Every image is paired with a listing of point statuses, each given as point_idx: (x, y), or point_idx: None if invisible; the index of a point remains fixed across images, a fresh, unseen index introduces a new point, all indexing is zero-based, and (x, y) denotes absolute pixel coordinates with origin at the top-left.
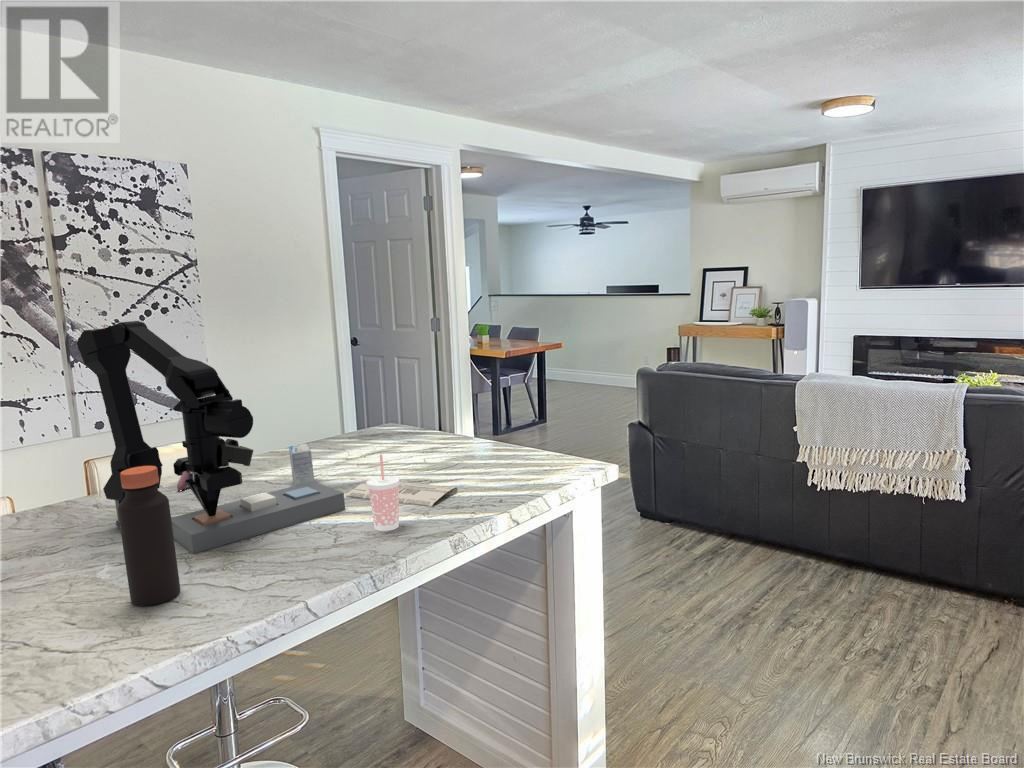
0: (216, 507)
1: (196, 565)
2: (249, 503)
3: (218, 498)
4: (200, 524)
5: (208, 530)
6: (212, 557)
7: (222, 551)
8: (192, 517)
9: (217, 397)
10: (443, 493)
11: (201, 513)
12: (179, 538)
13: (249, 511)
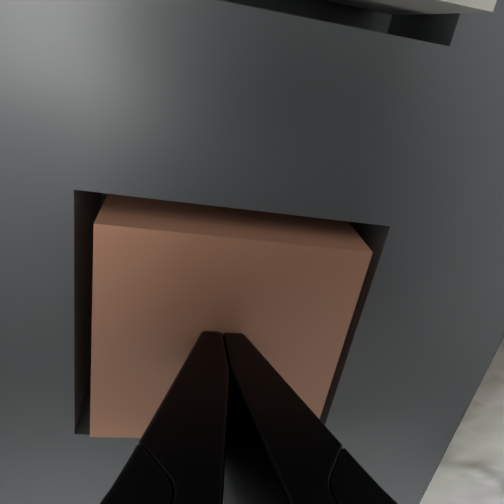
0: (282, 381)
1: (492, 451)
2: (445, 3)
3: (351, 456)
4: None
5: (447, 443)
6: (492, 390)
7: None
8: (59, 421)
9: None
10: None
11: (2, 345)
12: None
13: (364, 2)
